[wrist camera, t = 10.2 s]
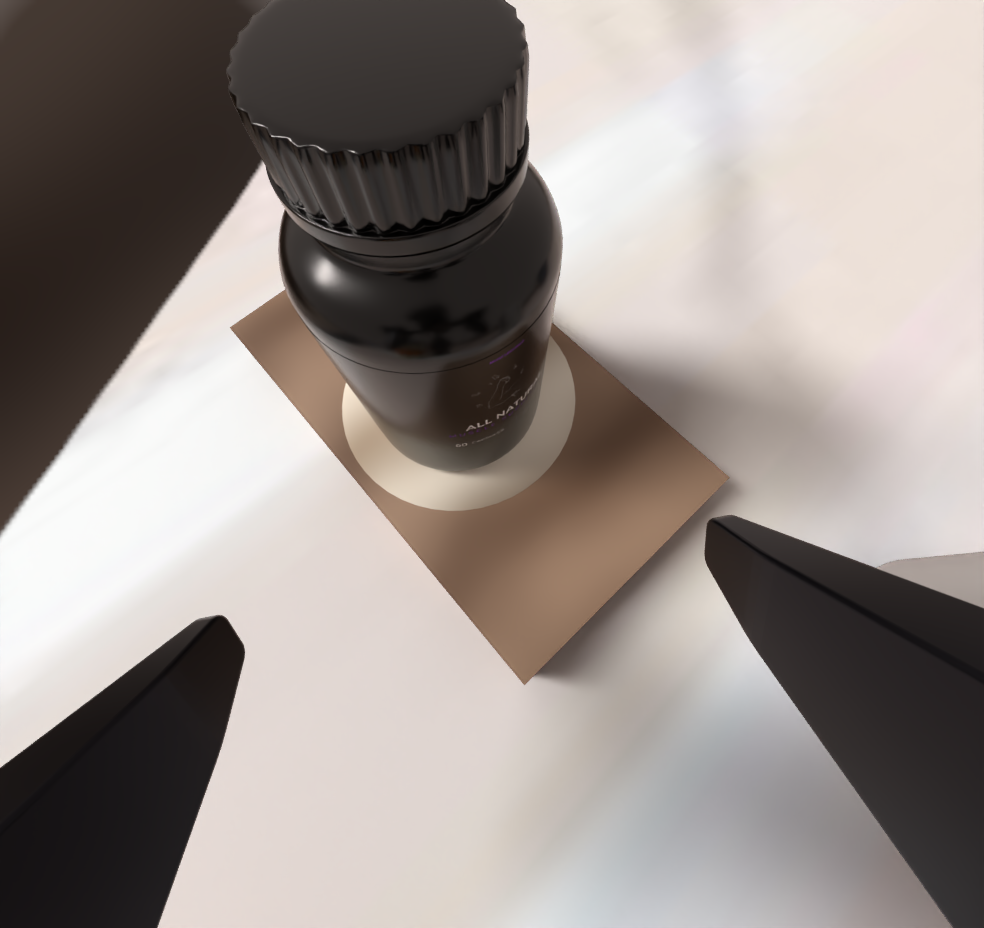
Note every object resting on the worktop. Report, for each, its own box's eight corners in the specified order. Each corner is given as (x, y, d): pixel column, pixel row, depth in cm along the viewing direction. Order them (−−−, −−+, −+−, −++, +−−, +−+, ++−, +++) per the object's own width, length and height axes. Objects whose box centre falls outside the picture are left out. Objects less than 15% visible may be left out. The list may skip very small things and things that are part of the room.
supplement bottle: (518, 493, 16) (534, 259, 5) (357, 454, 17) (58, 174, 6) (555, 346, 18) (627, -63, 7) (409, 316, 19) (260, -94, 8)
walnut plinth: (706, 490, 18) (729, 477, 16) (522, 674, 16) (524, 685, 14) (420, 233, 23) (412, 201, 21) (254, 351, 21) (229, 327, 19)
